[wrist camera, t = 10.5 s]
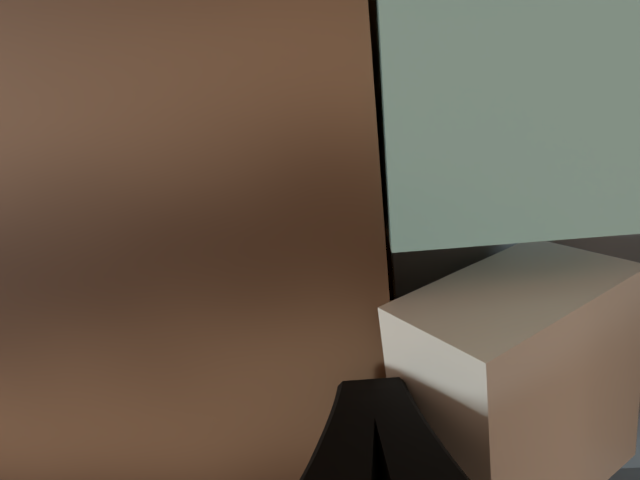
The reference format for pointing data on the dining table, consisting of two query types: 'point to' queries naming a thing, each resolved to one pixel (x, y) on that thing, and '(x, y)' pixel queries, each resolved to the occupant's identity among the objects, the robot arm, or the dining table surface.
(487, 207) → the sage tile
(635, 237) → the tray
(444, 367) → the beige block
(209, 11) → the board
